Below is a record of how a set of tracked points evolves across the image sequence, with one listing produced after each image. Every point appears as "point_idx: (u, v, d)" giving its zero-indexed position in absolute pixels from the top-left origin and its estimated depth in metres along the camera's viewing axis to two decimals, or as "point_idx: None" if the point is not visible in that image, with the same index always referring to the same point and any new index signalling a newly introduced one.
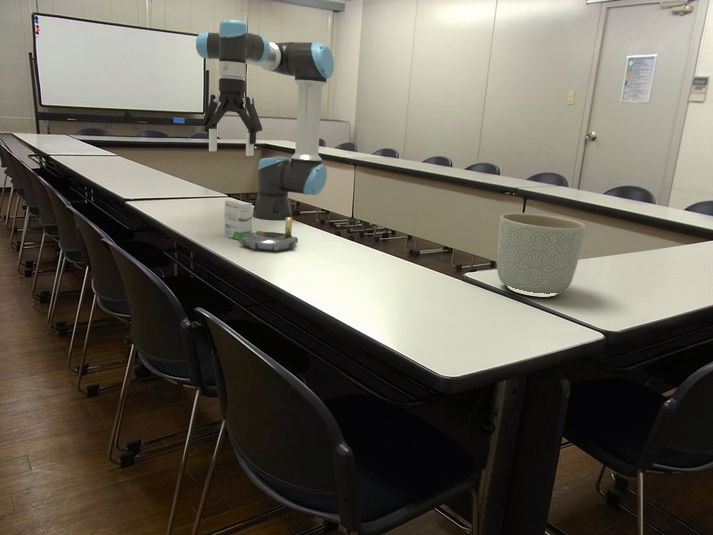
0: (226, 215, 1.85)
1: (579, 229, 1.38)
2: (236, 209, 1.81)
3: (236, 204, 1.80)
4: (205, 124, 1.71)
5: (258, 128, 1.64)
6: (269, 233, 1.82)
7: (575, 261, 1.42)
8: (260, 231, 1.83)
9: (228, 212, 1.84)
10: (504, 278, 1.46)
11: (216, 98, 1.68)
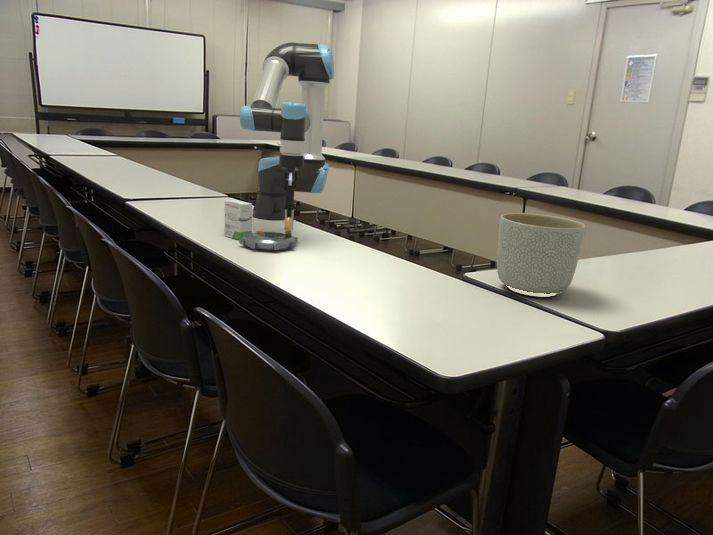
0: (226, 215, 1.85)
1: (579, 229, 1.38)
2: (236, 209, 1.81)
3: (236, 204, 1.80)
4: None
5: (287, 206, 1.77)
6: (269, 233, 1.82)
7: (575, 261, 1.42)
8: (260, 231, 1.83)
9: (228, 212, 1.84)
10: (504, 278, 1.46)
11: None
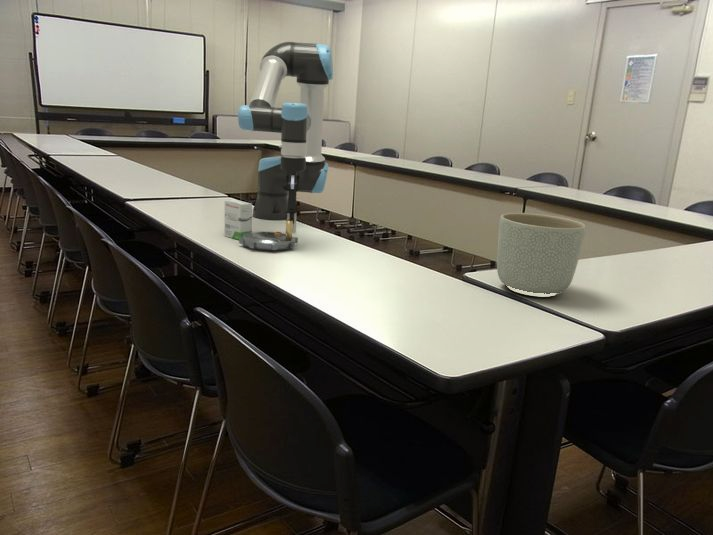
0: (226, 215, 1.85)
1: (579, 229, 1.38)
2: (236, 209, 1.81)
3: (236, 204, 1.80)
4: None
5: (289, 210, 1.73)
6: (283, 235, 1.81)
7: (575, 261, 1.42)
8: (279, 232, 1.84)
9: (228, 212, 1.84)
10: (504, 278, 1.46)
11: None
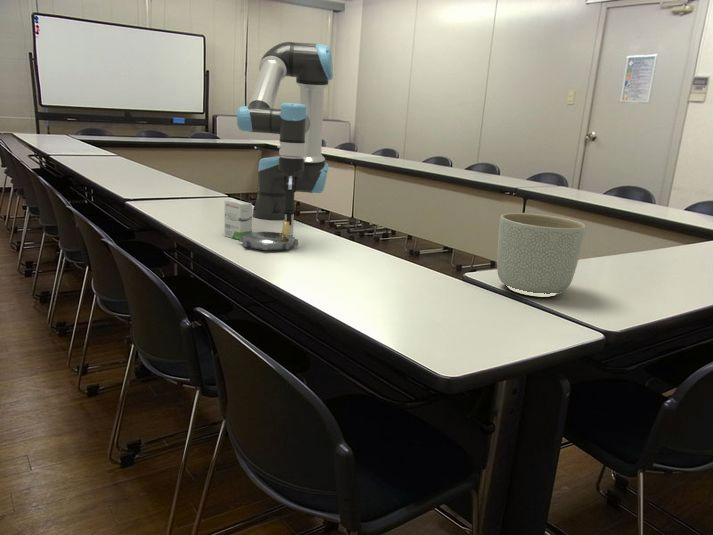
0: (226, 215, 1.85)
1: (579, 229, 1.38)
2: (236, 209, 1.81)
3: (236, 204, 1.80)
4: None
5: (287, 211, 1.71)
6: None
7: (575, 261, 1.42)
8: None
9: (228, 212, 1.84)
10: (504, 278, 1.46)
11: None
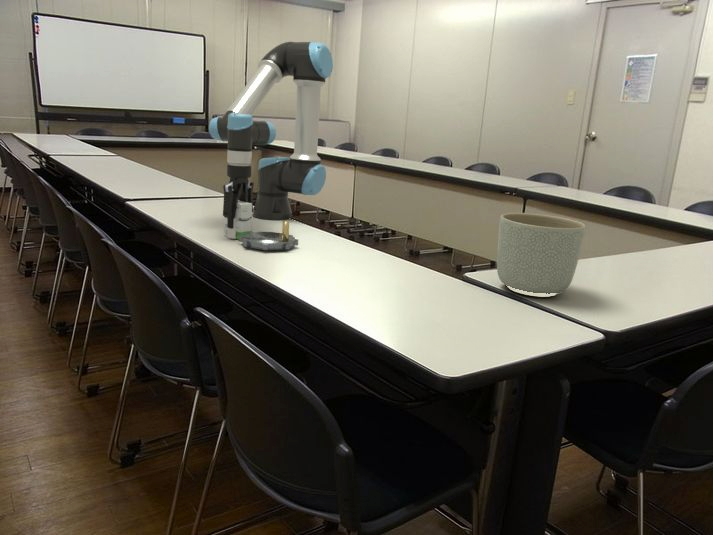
0: None
1: (579, 229, 1.38)
2: (236, 209, 1.81)
3: None
4: None
5: (224, 214, 1.78)
6: None
7: (575, 261, 1.42)
8: None
9: None
10: (504, 278, 1.46)
11: None
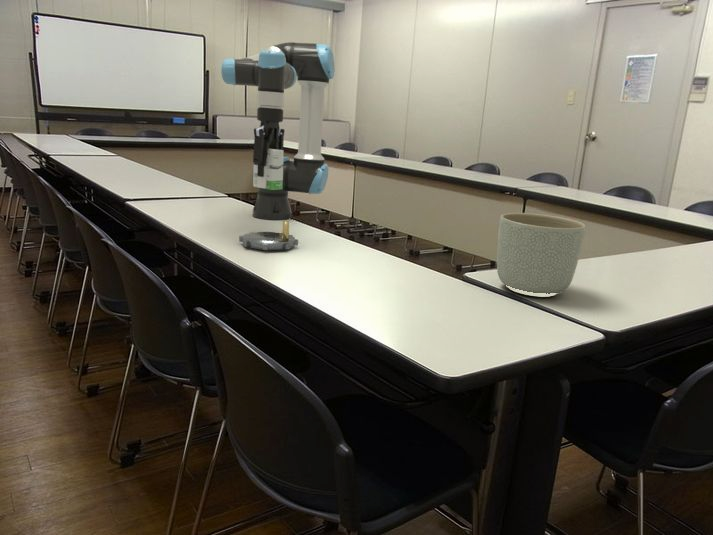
0: None
1: (579, 229, 1.38)
2: (267, 156, 1.68)
3: None
4: None
5: (254, 160, 1.66)
6: None
7: (575, 261, 1.42)
8: None
9: None
10: (504, 278, 1.46)
11: None
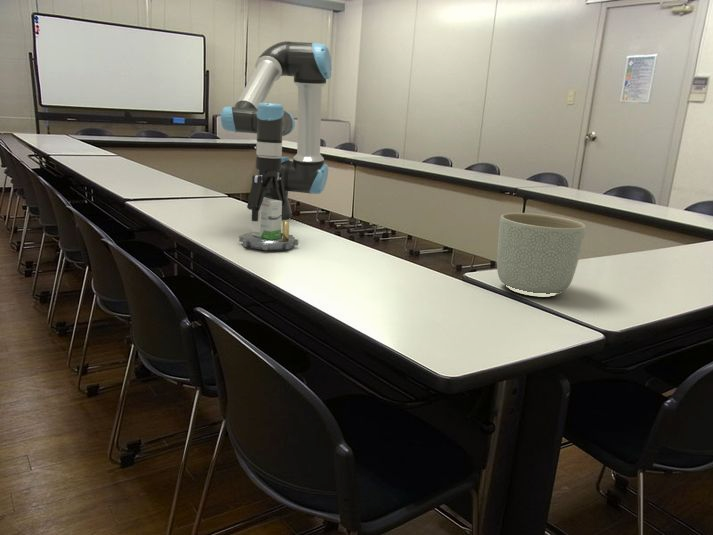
0: None
1: (580, 229, 1.38)
2: (266, 207, 1.72)
3: (266, 202, 1.72)
4: None
5: (248, 206, 1.67)
6: None
7: (575, 261, 1.42)
8: None
9: None
10: (504, 278, 1.46)
11: None
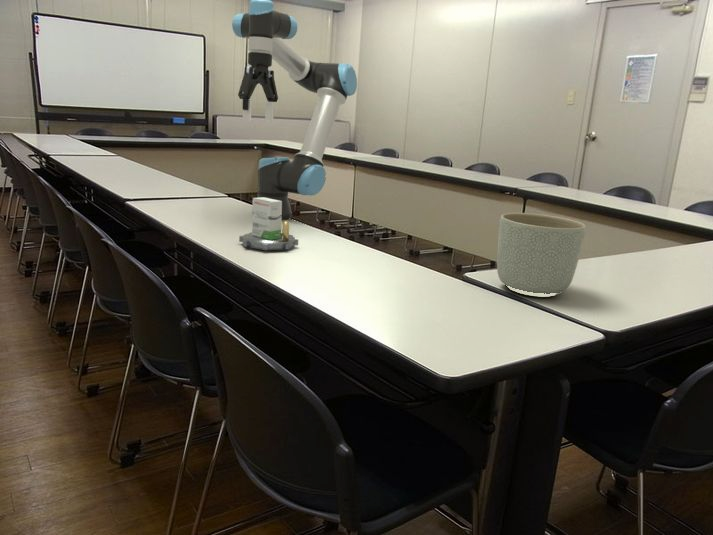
0: (254, 213, 1.76)
1: (580, 229, 1.38)
2: (266, 207, 1.72)
3: (266, 202, 1.72)
4: None
5: (239, 94, 1.77)
6: None
7: (575, 261, 1.42)
8: None
9: (256, 210, 1.75)
10: (504, 278, 1.46)
11: None
